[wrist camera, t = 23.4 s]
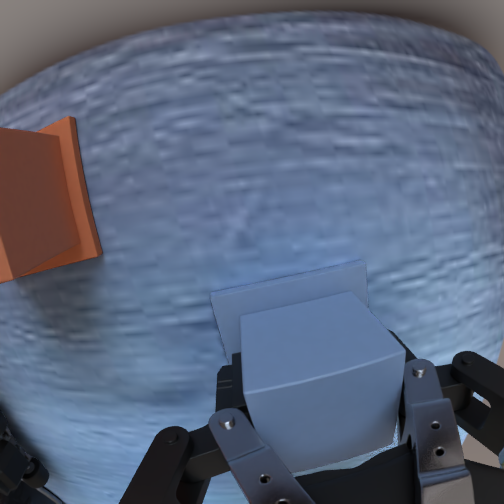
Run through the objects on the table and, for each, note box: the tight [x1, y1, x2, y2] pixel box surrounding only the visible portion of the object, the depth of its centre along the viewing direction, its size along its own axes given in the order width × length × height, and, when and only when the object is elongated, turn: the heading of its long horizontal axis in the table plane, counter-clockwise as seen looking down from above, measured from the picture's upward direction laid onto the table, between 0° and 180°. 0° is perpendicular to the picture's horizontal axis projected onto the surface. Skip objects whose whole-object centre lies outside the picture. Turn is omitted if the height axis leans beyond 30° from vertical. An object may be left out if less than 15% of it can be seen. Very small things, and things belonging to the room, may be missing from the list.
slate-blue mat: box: [210, 260, 368, 365], centre depth 14 cm, size 7×7×1 cm
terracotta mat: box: [18, 116, 103, 278], centre depth 11 cm, size 6×6×1 cm
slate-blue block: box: [240, 291, 406, 473], centre depth 11 cm, size 5×5×5 cm
